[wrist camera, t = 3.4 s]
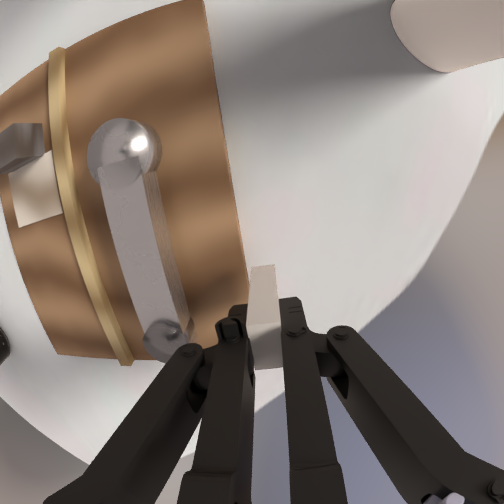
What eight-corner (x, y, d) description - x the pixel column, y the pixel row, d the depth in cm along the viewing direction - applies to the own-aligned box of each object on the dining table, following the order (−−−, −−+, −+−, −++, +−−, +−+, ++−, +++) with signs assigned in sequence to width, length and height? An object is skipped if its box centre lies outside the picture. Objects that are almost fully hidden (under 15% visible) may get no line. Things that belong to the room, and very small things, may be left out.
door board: (0, 102, 17) (-31, 102, 12) (204, 2, 15) (190, -30, 10) (62, 348, 26) (41, 373, 22) (260, 346, 24) (259, 386, 20)
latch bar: (101, 132, 16) (77, 130, 13) (156, 113, 16) (138, 107, 13) (156, 340, 21) (144, 363, 19) (206, 338, 21) (199, 362, 18)
